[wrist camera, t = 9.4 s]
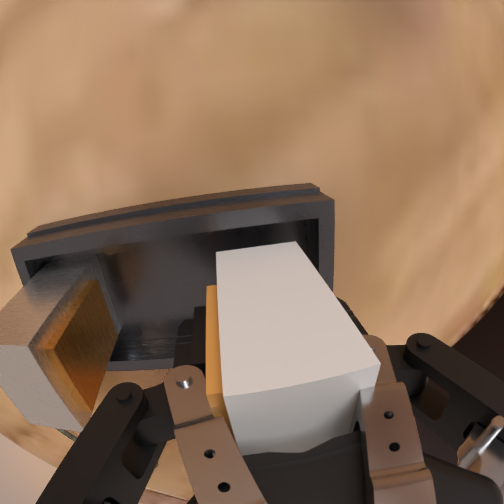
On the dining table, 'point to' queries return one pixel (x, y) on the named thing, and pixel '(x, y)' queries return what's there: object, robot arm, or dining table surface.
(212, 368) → the white block
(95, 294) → the grey tray with blocks
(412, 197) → the dining table surface
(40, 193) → the dining table surface
